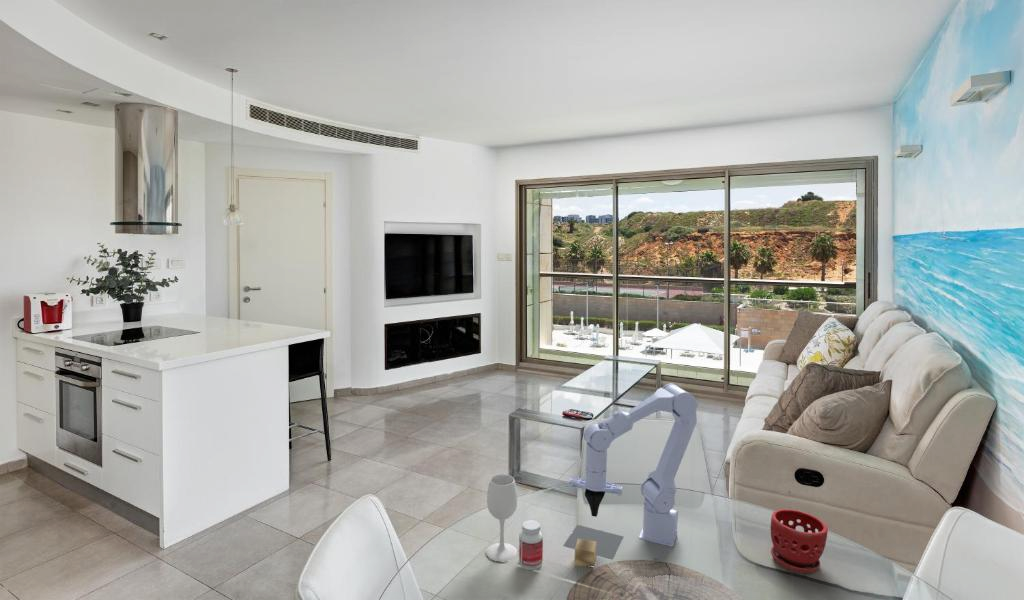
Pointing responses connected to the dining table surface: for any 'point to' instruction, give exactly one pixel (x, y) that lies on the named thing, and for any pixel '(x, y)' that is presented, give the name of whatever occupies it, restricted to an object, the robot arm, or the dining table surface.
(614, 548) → the mat
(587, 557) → the oak block
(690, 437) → the robot arm
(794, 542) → the plant pot
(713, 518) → the dining table surface
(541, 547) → the pill bottle
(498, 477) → the wineglass
